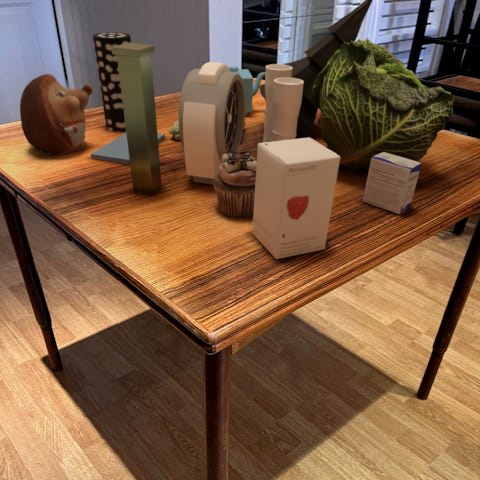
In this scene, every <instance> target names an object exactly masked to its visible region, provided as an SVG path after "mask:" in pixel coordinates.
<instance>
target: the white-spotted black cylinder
mask: <svg viewBox="0 0 480 480" xmlns="http://www.w3.org/2000/svg"><path fill="white" fill-rule="evenodd" d="M92 41H93V46H94V47H93V48H94V53H95V60H96V67H97V74H98V79H99V80H98V81H99V88H100V94H101V102H102V107H103V115H104V121H105V128H106V130H108V131H110V132H117V133H126V126H125V118H124V109H123V101H122V93H121V85H120V77H119V68H118V60H117V55H113V54H112V47H115V46H118V45H121V44H124V43H132V36H131V34H129V33H126V32H117V31H116V32H115V31H113V32H112V31H111V32H110V31H109V32H108V31H107V32H106V31H105V32H96V33H94V34H92Z"/></svg>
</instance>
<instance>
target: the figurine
mask: <svg viewBox="0 0 480 480" xmlns="http://www.w3.org/2000/svg"><path fill="white" fill-rule="evenodd" d="M93 92H94V91H93V86H92V85H91V84H85V85H83V86H82V88H67V87H65V86H63V85H62V84H61V82H60V81H58V79H57V78H56V77H55V76H54V75H53V74H50V73H45V74H42V75H40V76H37V77H35V78H33V79H32V80H30V81H29V83H27V84H26V86H25V87H24V89H23V91H22V94H21V96H20V103H19V115H20V123H21V129H22V132H23V135H24V137H25V139H26V141H27V142H28V144H29V145H30V146H31V147H32V148H34V149H35V150H36V151H38V152H40V153H42V154H45V155H51V156H56V155H64V154H67V153H72V152H78V151H81V150H84V149H85V148H86V147H87V142H86V141H85V139H86V129H87V128H86V127H87V126H86V125H87V124H86V116H85V114H86V113H85V109H86V107H87V106H88V103H89V100H90V96H91V95H92V94H93Z"/></svg>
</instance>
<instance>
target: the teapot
mask: <svg viewBox="0 0 480 480" xmlns="http://www.w3.org/2000/svg"><path fill="white" fill-rule="evenodd" d="M228 67H229V72H237V73H238V74H239V75H240V76H241V78H242V80H243V84H244V89H245V117H246V116H248V115H249V113H251V112H253V98H254V97H256V95H257V93H258V92H259V90H260V88H259V86H261V83H262V80H263V78H265V73H266V71H264V72H260V73H258V74H257V76H256V79H255V82H254V78H253V76H252V74H251V72H250V70H249V69H248V68H247V69H246V68H245V69H244V68H242V69H240V68H239V66H235V65H231V66H228Z"/></svg>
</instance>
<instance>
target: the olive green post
mask: <svg viewBox="0 0 480 480" xmlns="http://www.w3.org/2000/svg"><path fill="white" fill-rule="evenodd" d="M155 52H156V47H155V45H154V44H146V43H135V42H131V43H124V44H121V45H118V46H115V47H112V54H113V55H117V60H118V68H119V77H120V85H121V93H122V101H123V109H124V118H125V126H126V132H125V133H126V134H127V142H128V150H129V158H130V164H129V167H130V175H131V182H132V190H133V193H138V194H145V195H149V196H153V195H155V194H156V193H158V191H159V190H160V189H161V188H162V187H163V184H162V173H161V160H160V148H159V147H160V146H159V143H158V135H157V133H158V123H157V112H156V99H155V88H154V75H153V73H154V72H153V63H152V54H153V53H155Z"/></svg>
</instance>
